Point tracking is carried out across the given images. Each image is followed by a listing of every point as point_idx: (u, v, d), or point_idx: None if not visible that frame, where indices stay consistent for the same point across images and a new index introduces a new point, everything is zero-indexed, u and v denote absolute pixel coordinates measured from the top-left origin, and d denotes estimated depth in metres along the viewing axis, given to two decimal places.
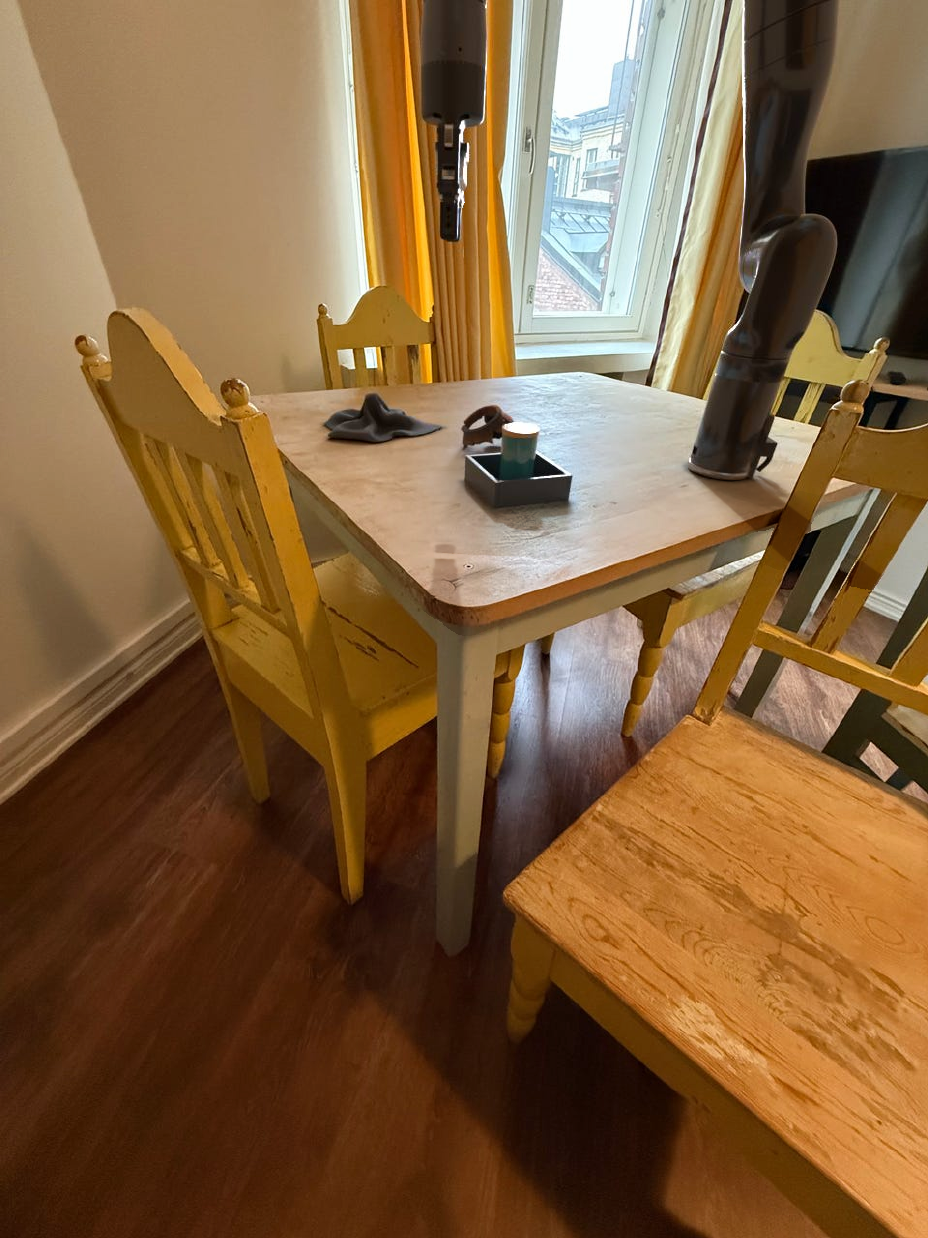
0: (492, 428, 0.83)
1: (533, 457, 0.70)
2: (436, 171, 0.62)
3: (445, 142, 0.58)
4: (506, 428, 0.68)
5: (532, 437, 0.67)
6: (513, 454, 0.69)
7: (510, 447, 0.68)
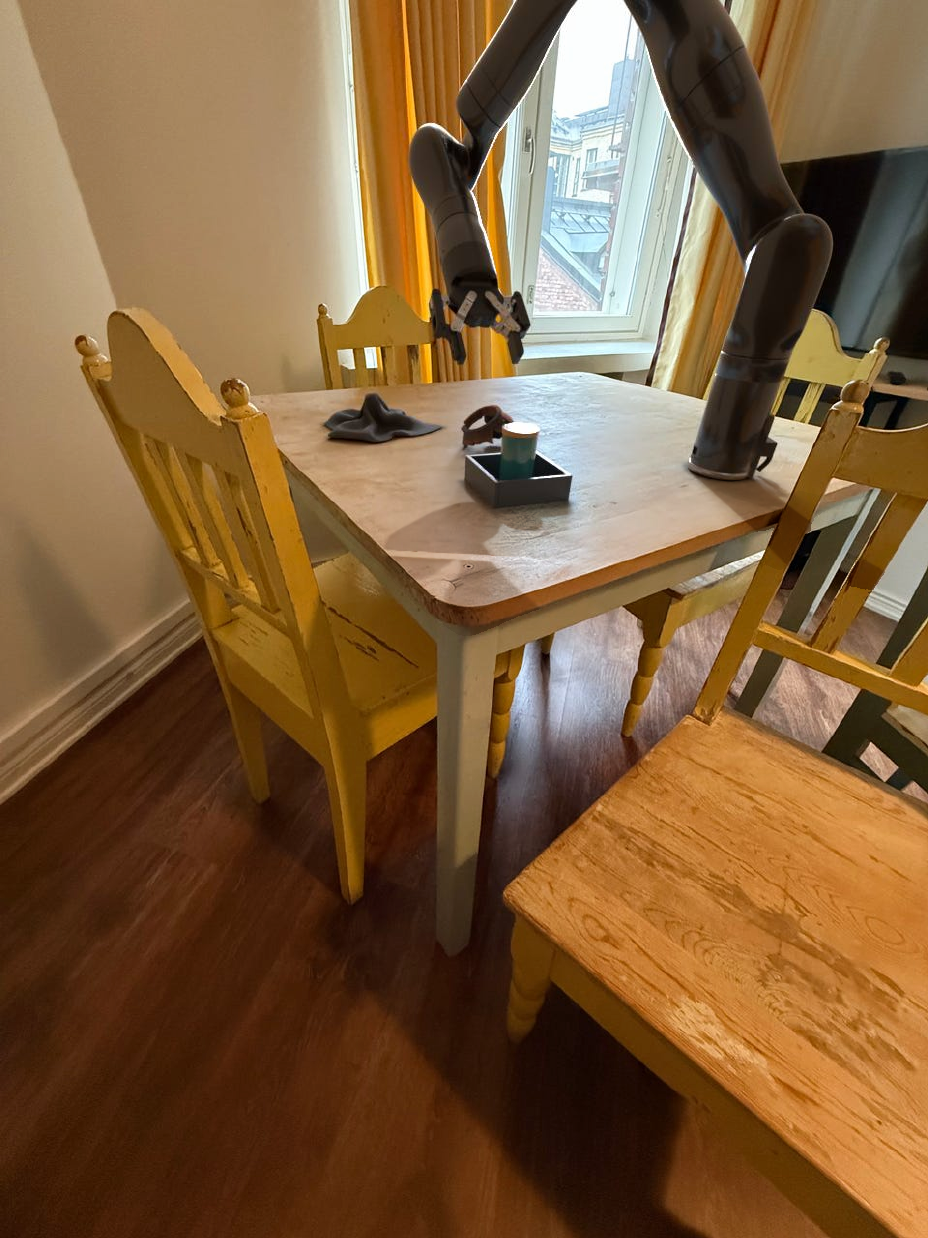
0: (492, 428, 0.83)
1: (533, 457, 0.70)
2: None
3: (431, 307, 0.73)
4: (506, 428, 0.68)
5: (532, 437, 0.67)
6: (513, 454, 0.69)
7: (510, 447, 0.68)
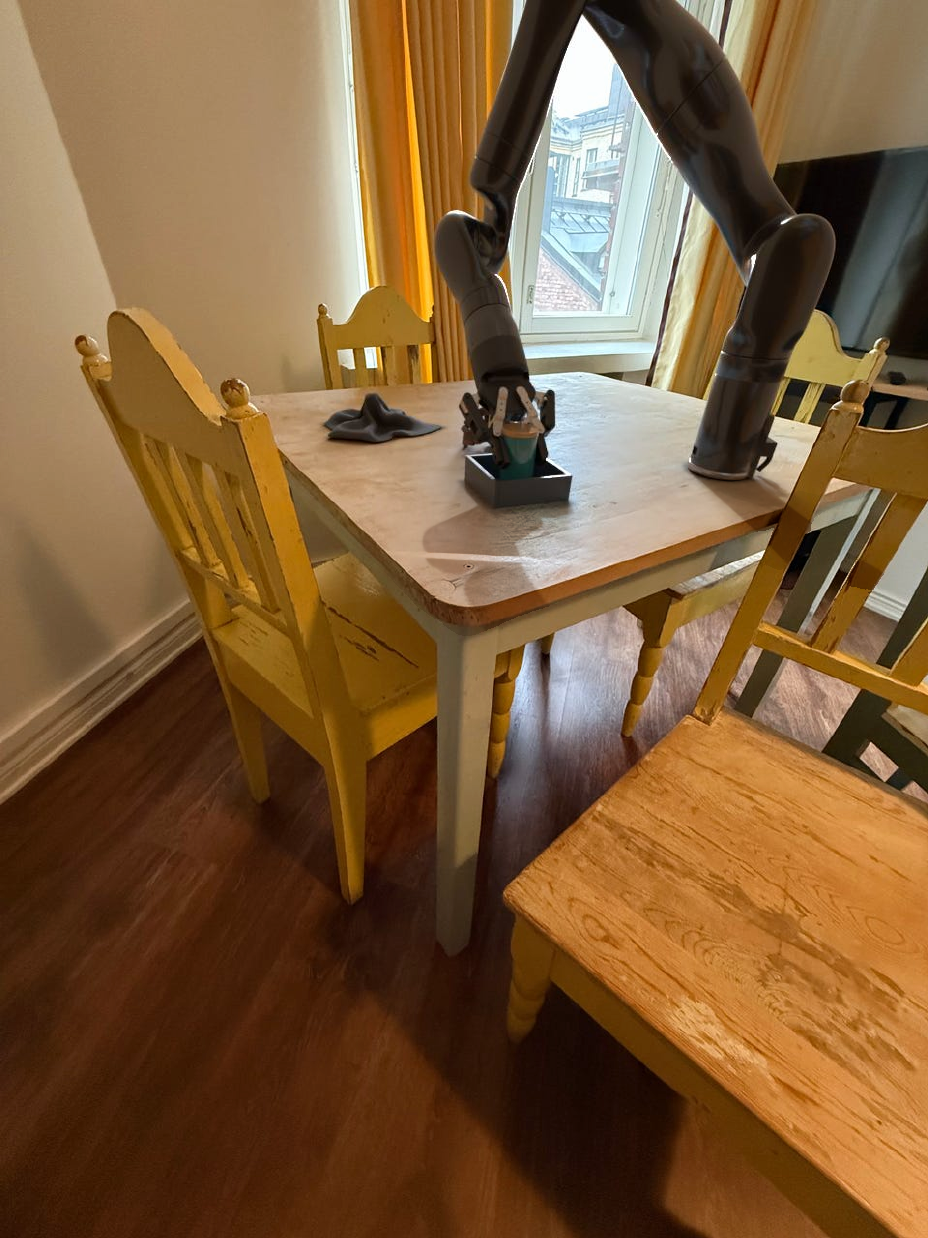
0: None
1: (533, 457, 0.70)
2: (488, 427, 0.71)
3: (464, 411, 0.69)
4: (506, 428, 0.68)
5: (532, 437, 0.67)
6: (513, 454, 0.69)
7: (510, 447, 0.68)
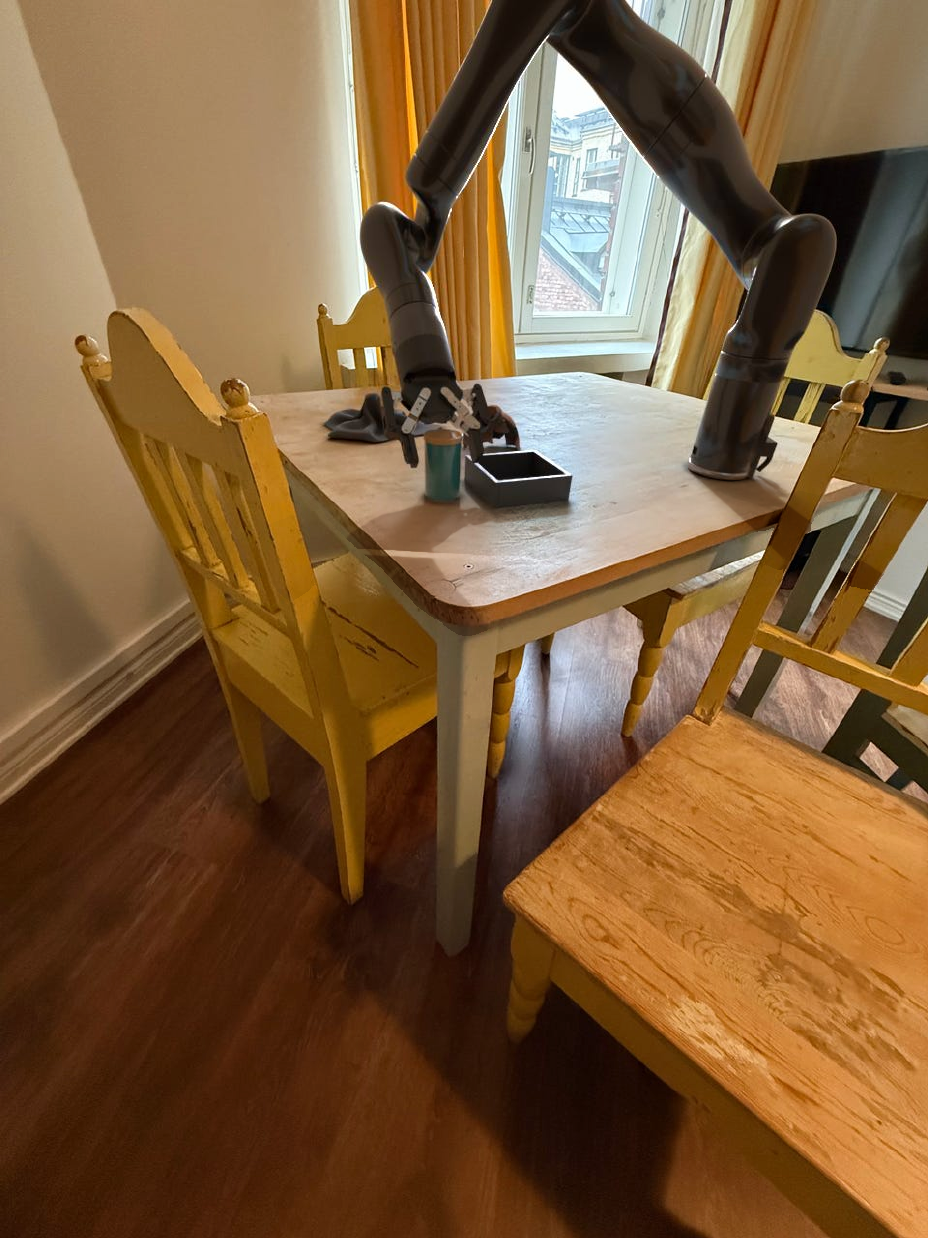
0: (492, 428, 0.83)
1: (457, 464, 0.68)
2: None
3: (381, 405, 0.67)
4: (427, 434, 0.66)
5: (453, 443, 0.65)
6: (435, 461, 0.66)
7: (432, 454, 0.66)
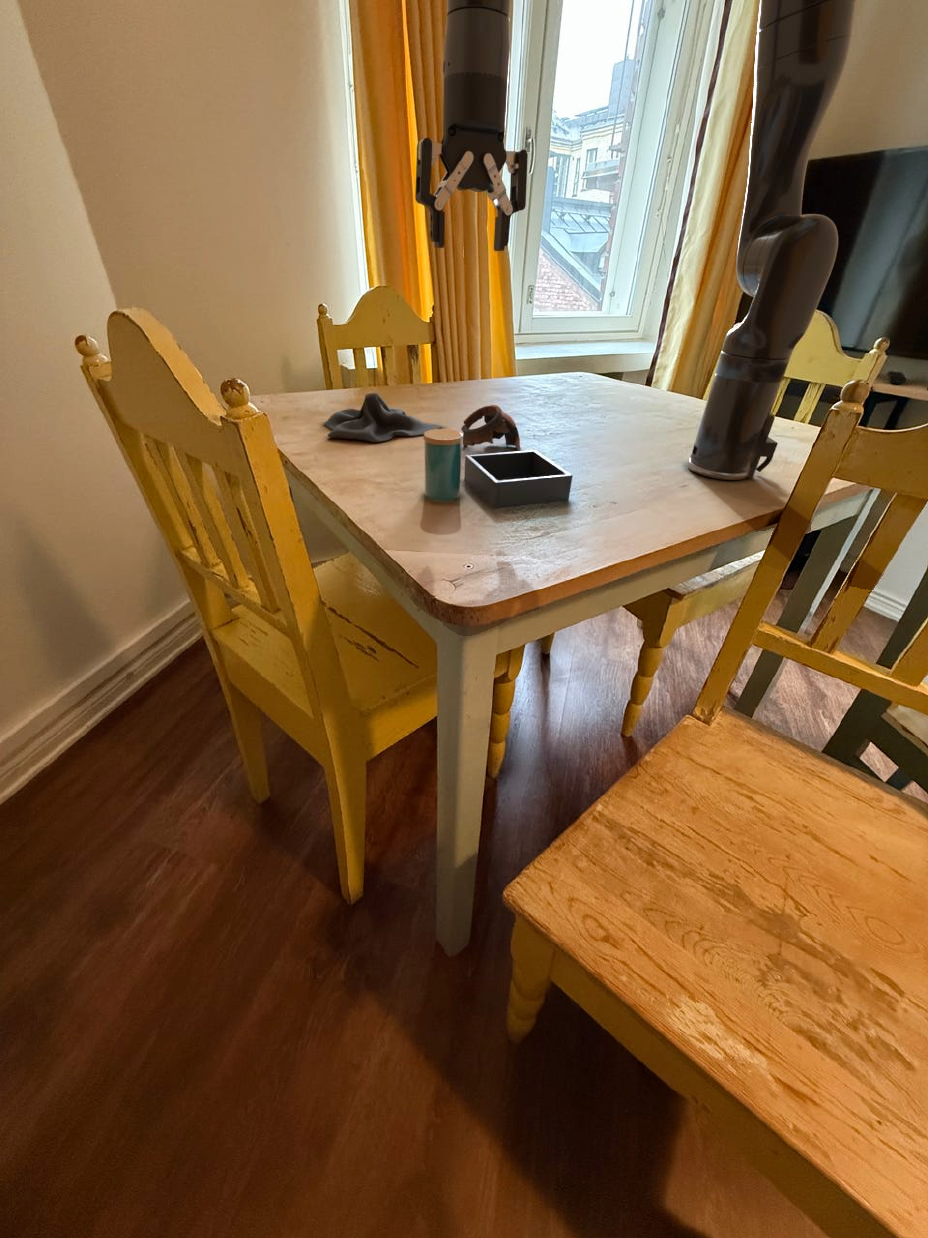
0: (492, 428, 0.83)
1: (457, 464, 0.68)
2: (439, 184, 0.66)
3: (418, 157, 0.62)
4: (427, 434, 0.66)
5: (453, 443, 0.65)
6: (435, 461, 0.66)
7: (432, 454, 0.66)
